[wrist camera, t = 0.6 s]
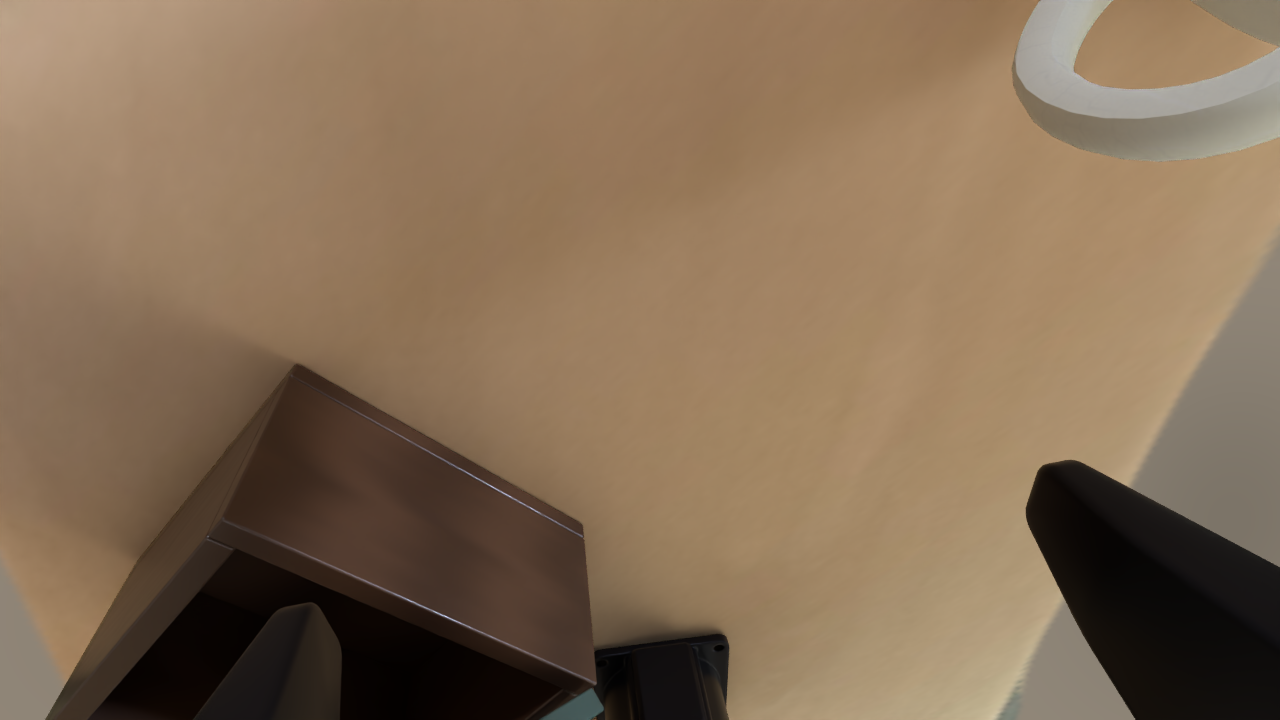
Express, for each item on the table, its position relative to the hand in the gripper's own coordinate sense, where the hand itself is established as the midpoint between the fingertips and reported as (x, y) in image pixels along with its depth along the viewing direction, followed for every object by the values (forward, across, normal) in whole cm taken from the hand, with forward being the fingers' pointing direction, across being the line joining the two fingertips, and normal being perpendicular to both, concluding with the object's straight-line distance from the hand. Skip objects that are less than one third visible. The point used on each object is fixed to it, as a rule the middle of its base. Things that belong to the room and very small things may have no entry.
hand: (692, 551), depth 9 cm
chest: (+15, +11, +15) cm, 24 cm away
